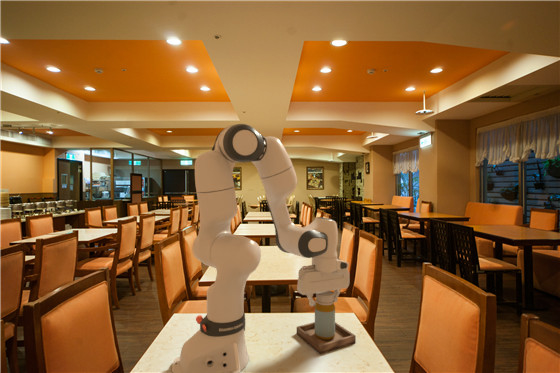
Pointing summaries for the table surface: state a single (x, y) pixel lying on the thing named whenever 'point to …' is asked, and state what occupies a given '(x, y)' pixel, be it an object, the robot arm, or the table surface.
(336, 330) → the serving tray
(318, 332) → the bottle
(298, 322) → the table surface
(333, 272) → the robot arm
